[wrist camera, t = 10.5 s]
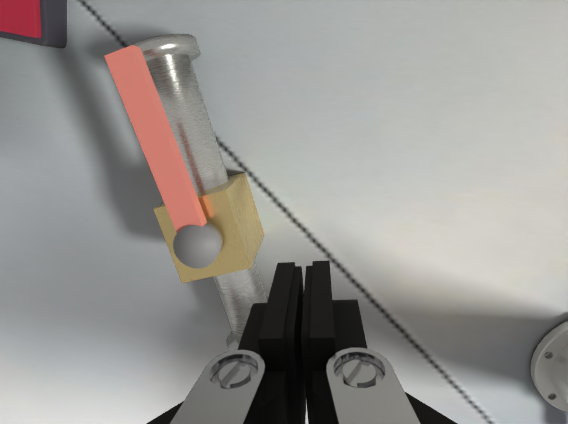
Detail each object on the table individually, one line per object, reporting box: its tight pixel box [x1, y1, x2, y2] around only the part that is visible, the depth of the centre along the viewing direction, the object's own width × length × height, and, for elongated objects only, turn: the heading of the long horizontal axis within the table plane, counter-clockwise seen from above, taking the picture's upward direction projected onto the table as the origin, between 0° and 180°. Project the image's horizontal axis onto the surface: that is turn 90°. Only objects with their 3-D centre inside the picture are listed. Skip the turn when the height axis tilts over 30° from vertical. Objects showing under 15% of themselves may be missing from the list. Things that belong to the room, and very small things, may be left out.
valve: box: [133, 34, 268, 351], centre depth 33 cm, size 30×6×8 cm, turn 15°
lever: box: [104, 45, 223, 268], centre depth 27 cm, size 17×4×2 cm, turn 17°
